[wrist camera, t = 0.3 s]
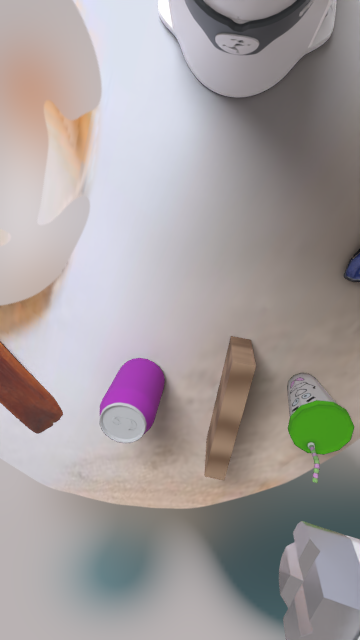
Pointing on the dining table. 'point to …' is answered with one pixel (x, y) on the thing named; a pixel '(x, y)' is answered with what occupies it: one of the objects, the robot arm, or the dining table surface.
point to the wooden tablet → (25, 395)
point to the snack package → (353, 269)
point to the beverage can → (132, 401)
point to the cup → (316, 419)
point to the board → (229, 406)
